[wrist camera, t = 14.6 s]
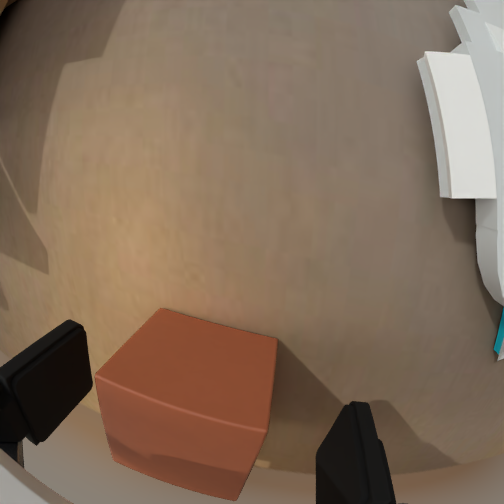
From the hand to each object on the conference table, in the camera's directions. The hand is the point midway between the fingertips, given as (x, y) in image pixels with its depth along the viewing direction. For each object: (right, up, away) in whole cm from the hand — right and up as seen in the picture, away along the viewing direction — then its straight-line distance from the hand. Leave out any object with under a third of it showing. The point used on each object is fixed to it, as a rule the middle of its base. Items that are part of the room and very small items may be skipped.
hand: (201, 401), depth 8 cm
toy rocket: (+12, +8, -1) cm, 15 cm away
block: (0, 0, +2) cm, 2 cm away
